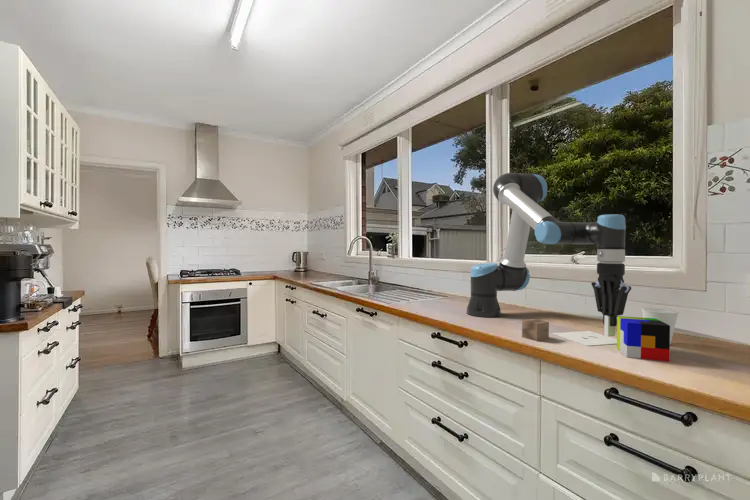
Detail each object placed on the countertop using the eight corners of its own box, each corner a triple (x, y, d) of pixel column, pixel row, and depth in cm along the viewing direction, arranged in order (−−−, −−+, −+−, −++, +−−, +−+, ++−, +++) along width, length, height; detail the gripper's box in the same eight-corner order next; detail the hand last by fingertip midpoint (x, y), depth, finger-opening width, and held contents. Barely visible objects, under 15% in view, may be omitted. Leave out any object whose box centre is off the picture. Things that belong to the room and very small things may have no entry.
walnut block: (522, 337, 125) (522, 320, 125) (533, 335, 128) (533, 318, 128) (536, 341, 120) (537, 323, 120) (548, 339, 123) (548, 321, 123)
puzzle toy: (626, 357, 103) (627, 322, 103) (616, 347, 113) (617, 316, 112) (669, 361, 100) (670, 325, 100) (655, 351, 109) (655, 318, 109)
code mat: (552, 333, 130) (552, 333, 130) (589, 331, 134) (589, 330, 134) (587, 345, 115) (587, 345, 115) (628, 343, 118) (628, 342, 118)
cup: (669, 349, 112) (669, 313, 111) (633, 341, 120) (634, 308, 120) (684, 345, 116) (685, 311, 116) (649, 337, 125) (650, 306, 125)
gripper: (584, 261, 121) (583, 331, 121) (618, 263, 108) (617, 341, 109) (603, 261, 123) (602, 330, 123) (639, 263, 110) (637, 340, 110)
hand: (609, 335), depth 116 cm, fingers closed
